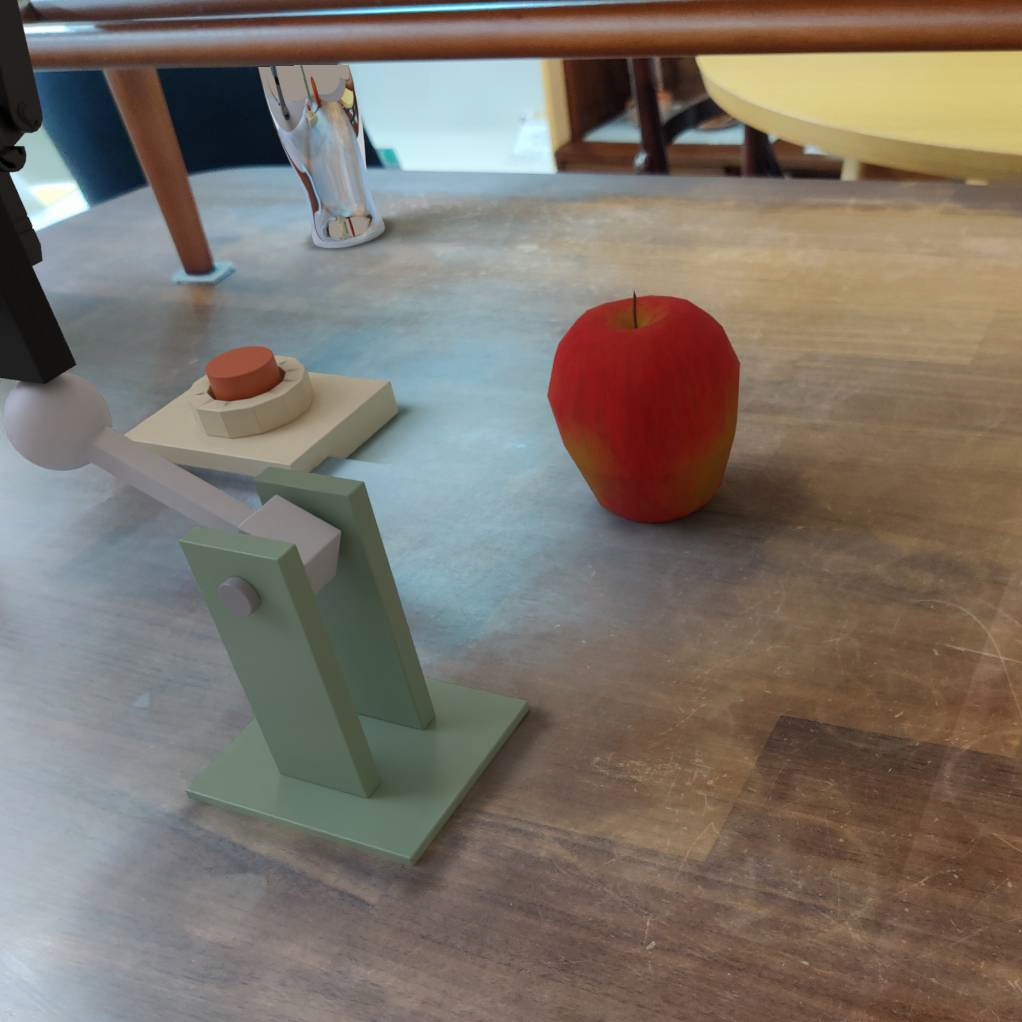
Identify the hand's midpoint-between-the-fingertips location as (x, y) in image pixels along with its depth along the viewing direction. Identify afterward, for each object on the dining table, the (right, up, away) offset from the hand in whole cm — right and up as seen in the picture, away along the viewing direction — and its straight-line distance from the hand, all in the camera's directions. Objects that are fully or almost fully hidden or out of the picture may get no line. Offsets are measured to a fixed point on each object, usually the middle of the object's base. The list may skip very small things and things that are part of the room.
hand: (33, 370), depth 43 cm
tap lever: (+4, -5, +2) cm, 7 cm away
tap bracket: (+10, -15, +7) cm, 20 cm away
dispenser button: (-2, +5, +29) cm, 29 cm away
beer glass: (-3, +24, +58) cm, 63 cm away
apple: (+23, -3, +20) cm, 30 cm away
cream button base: (-1, +3, +31) cm, 31 cm away
